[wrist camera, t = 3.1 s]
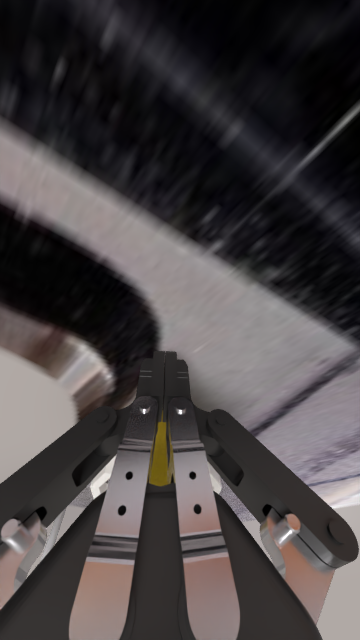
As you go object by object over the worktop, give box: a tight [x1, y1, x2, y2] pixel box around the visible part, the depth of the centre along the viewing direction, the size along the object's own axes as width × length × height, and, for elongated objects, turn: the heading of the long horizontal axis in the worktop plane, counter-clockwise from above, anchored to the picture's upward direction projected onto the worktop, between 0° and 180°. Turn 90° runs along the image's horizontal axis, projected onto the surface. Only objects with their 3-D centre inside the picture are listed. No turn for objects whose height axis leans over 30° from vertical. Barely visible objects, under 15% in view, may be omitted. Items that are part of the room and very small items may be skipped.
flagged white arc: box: [40, 456, 222, 562], centre depth 22 cm, size 19×14×16 cm
